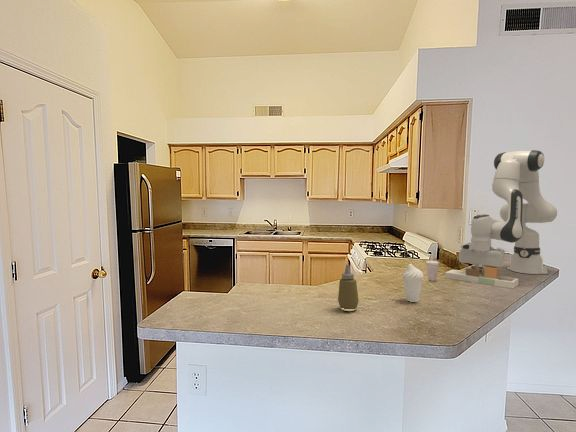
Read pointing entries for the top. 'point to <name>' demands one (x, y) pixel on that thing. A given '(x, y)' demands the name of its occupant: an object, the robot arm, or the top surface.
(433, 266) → the smoothie
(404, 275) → the soft serve ice cream cone
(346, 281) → the squeeze bottle
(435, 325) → the top surface
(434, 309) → the top surface
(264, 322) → the top surface
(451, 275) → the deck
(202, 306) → the top surface
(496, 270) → the block
